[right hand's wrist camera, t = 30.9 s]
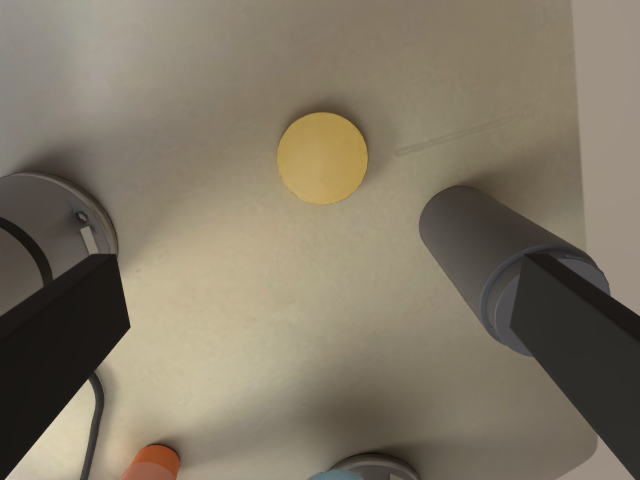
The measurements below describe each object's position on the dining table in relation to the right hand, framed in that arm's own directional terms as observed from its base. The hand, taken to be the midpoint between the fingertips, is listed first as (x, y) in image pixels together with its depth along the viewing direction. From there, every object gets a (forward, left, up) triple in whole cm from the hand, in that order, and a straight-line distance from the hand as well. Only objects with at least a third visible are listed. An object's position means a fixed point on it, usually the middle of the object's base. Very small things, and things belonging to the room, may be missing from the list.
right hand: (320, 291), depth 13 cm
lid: (0, 0, -28) cm, 29 cm away
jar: (-3, -17, -30) cm, 34 cm away
